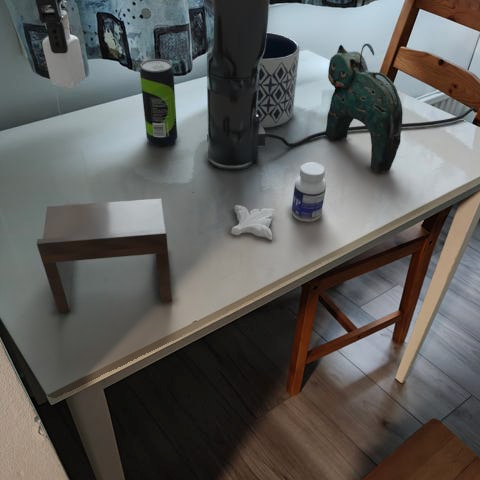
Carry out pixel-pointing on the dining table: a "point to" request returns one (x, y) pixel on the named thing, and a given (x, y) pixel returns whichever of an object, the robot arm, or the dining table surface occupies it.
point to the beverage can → (159, 101)
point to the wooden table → (102, 240)
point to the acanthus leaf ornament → (253, 221)
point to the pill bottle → (309, 192)
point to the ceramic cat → (364, 106)
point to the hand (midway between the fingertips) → (61, 44)
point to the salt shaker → (65, 60)
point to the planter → (277, 80)
